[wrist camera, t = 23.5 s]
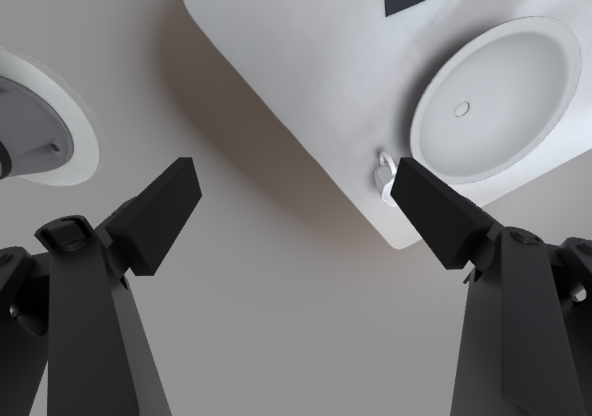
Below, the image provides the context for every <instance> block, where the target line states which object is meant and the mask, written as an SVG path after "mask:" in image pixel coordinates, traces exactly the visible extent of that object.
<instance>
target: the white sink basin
mask: <svg viewBox="0 0 592 416" xmlns="http://www.w3.org/2000/svg"><path fill="white" fill-rule="evenodd" d="M581 67H582V54H581V48H580V45H579V42H578V39H577V38H576V36H575V34H574V33H573V31H572V30H571V29H570V28H569V27H568V26H566V25H565V24H564V23H562V22H560V21H558V20H555V19H552V18H548V17H541V16H531V17H523V18H518V19H514V20H511V21H508V22H505V23H502V24H500V25H498V26H495V27H493V28H491V29H489V30H487V31H486V32H484V33H482V34H480V35H479V36H477V37H476V38H474V39H473V40H471V41H470V42H469V43H467V44H466V45H465V46H463V47H462V48H461V49H460V50H459V51H458V52H456V53H455V54H454V55H453V56H452V57H451V58H450V59H449V60H448V61H447V62H446V63H445V64H444V65H443V67H442V68H441V69H440V70H439V71H438V73H437V74H436V75H435V76H434V78H433V79H432V80H431V82H430V83H429V85H428V86H427V88H426V90H425V92H424V93H423V95H422V97H421V99H420V101H419V103H418V105H417V108H416V110H415V113H414V116H413V120H412V124H411V129H410V149H411V154H412V157H413V158H414V159H415V160H417V161H418V162H419V163H420V164H422V165H423V166H424V167H425V168H427V169H428V170H429V171H431V172H432V173H433V174H434V175H436V176H437V177H438V178H439V179H441V180H442V181H443V182H444V183H446V184H467V183H473V182H477V181H480V180H483V179H486V178H489V177H491V176H494V175H496V174H498V173H500V172H502V171H504V170H506V169H507V168H509V167H511V166H512V165H514V164H515V163H517V162H518V161H520V160H521V159H522V158H524V157H525V156H526V155H528V154H529V153H530V152H531V151H532V150H534V149H535V148H536V147H537V146H538V145H539V144H540V143H541V142H542V141H543V140H544V139H545V138H546V137H547V136H548V134H549V133H550V132H551V131H552V130H553V129H554V127H555V126H556V125H557V123H558V122H559V121H560V119H561V118H562V116H563V115H564V113H565V111H566V110H567V108H568V106H569V104H570V102H571V100H572V98H573V96H574V94H575V91H576V89H577V85H578V82H579V79H580V74H581ZM463 102H467V103H468V104H469V109H468V111H467V112H466V114H464V115H463V116H456V114H455V111H456V109H457V107H458V106H459V105H460V104H461V103H463Z"/></svg>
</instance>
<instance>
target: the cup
mask: <svg viewBox="0 0 592 416" xmlns="http://www.w3.org/2000/svg"><path fill="white" fill-rule="evenodd" d="M384 157H385V159H386V160H387V162H388V164H384ZM379 161H380V166H379V167H378V168H377V169H375V175H374V177H375V178H376V185H377V188H378V190H379V193H380V196H381V199H382V200H383V201H384V202H385V203H386V204H387V205H389V206H390V207H392V206H398V205H397V204H396V202H395V201H394V200H393V198H392V197H391V196H390V192H391V188H392V185H393V182H394V179H395V175H396V172H397V169H398V167H396V166H395V164H394V162H393V160H392V158H391V157H390V156H389V154H388V153H387V152H386V151H383V152H381V153H380V155H379Z"/></svg>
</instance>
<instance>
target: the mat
mask: <svg viewBox="0 0 592 416" xmlns="http://www.w3.org/2000/svg"><path fill="white" fill-rule="evenodd" d="M422 1H425V0H385V11H386V17H387V16H389V15H392V14H394V13H396V12H399V11H401V10H403V9H406V8H408V7H410V6H413V5H415V4H418V3H420V2H422Z"/></svg>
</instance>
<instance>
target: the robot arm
mask: <svg viewBox="0 0 592 416" xmlns="http://www.w3.org/2000/svg"><path fill="white" fill-rule="evenodd" d="M73 153H74V143H73V139H72V136H71V133H70V131H69V129H68V127H67V125H66V124H65V122H64V121H63V119H62V118H61V117H60V115H59V114H58V113H57V112H56V111H55V110H54V109H53V107H52V106H51V105H49V104H48V103H47V102H46V101H45V100H44V99H43V98H41V97H40V96H39V95H38V94H36V93H35V92H33V91H32V90H30V89H29V88H27V87H25V86H24V85H22V84H20V83H18V82H16V81H14V80H11V79H9V78H6V77H3V76H0V180H1V179H3V178H6V177H11V176H19V175H26V174H34V173H42V172H48V171H51V170H55V169H57V168H59V167H61V166H63V165H65V164H67V163H68V162H69V161H70V160H71V158H72V156H73ZM390 196H391V197H392V198H393V200H394V201H395V202H396V204H397V205H398V206H399V207H400V209H401V210H402V211H403V213H404V214H405V215H406V217H407V218H408V219H409V221H410V222H411V223H412V225H413V226H414V227H415V229H416V230H417V231H418V233H419V234H420V235H421V237H422V238H423V239H424V240H425V242H426V243H427V244H428V246H429V247H430V248H431V250H432V251H433V253H434V254H435V255H436V257H437V258H438V259H439V260H440V262H441V263H442V264H443V266H444V267H445V268H446V269H447V270H448V269H449V270H450V269H463V268H464V266H465V265H466V264H467V262H468V261H469V260H470V261H471V262H472V263H473V264H474V265H475V267H474V268H473V269H472V271H471V272H470V273H469V275H468V276H467V278H466V279H465V280H464V282H463V283H464V284H466V283H467V282H468V281H469V288H468V296H467V302H466V309H465V316H464V323H463V330H462V337H461V344H460V351H459V358H458V365H457V372H456V378H455V386H454V392H453V399H452V406H451V413H450V416H592V241H591V240H585V239H582V238H576V237H571V238H567V239H566V240H565V241H564V242H563V243H562V244H561V245H560V246H556V245H551V244H545V243H544V242H543V240H542V239H540V238H539V237H538V236H536V235H534V234H533V233H531V232H529V231H526V230H524V229H520V228H516V227H508V226H507V227H504V226H503V225H502V224H500V223H499V222H498V221H496V220H495V219H494V218H493V217H491V216H490V215H489V214H487V213H486V212H485V211H483V210H482V209H481V208H480V207H478V206H476V204H474V203H473V202H472V201H471V200H469V199H468V198H466V197H464V196H462V195H460V194H458V193H457V192H456V191H455V190H453V189H452V188H451V187H449V186H448V185H447V184H446V183H444V182H443V181H442V180H441V179H439V178H438V177H437V176H436V175H434V174H433V173H432V172H431V171H429V170H428V169H427V168H425V167H424V166H423V165H422V164H420V163H419V162H418V161H417V160H415V159H414V158H413V157H401V159H400V162H399V166H398V169H397V172H396V175H395V179H394V182H393V185H392V188H391V192H390ZM201 197H202V193H201V190H200V186H199V182H198V179H197V175H196V171H195V168H194V164H193V161H192V158H191V157H188V158H187V157H179V158H178V159H177V160H176V161H175V162H174V163H173V164H171V165H170V166H169V167H168V168H167V169H166V170H165V171H164V172H163V173H162V174H161V175H160V176H159V177H157V178H156V180H154V181H153V182H152V183H151V184H150V185H149V186H148V187H147V188H146V189H145V190H144V191H142V192H141V193H140V194H139V195H138V196H137V197H134V198H132V199H130V200H128V201H126V202H124V203H123V204H122V205H121V206H120V207H119V208H118V209H117V210H116V211H114V212H113V213H112V214H111V216H109V217H108V218H106V219H105V220H104V221H103V222H102V223H101V224H100V225H99V226H98V227H96V228H95V229H94V230H93V228H92V227H91V226H90V224H89V223H88V221H87V220H86V218H85V217H84V216H80V215H73V216H66V217H62V218H59V219H56V220H54V221H51V222H49V223H47V224H45V225H44V226H42V227H41V228H40V229H38V230H37V231H36V233H35V234H34V236H35V237H36V238H37V239H38V240H39V241H40V242H41V243H42V245H43V246H44V247H45V248H46V249H47V250H48V251H49V252H46V253H41V254H36V255H32V256H31V255H30V254H29V253H28V252H27V251H26V250H25V249H24V248H23V247H17V246H15V247H9V248H4V249H1V250H0V416H29V414H30V411H31V408H32V405H33V402H34V399H35V396H36V393H37V390H38V387H39V384H40V381H41V378H42V375H43V372H44V370H45V366H46V363H47V361H48V395H47V396H48V397H47V416H172V414H171V411H170V408H169V405H168V402H167V399H166V396H165V393H164V390H163V387H162V384H161V381H160V378H159V375H158V372H157V368H156V365H155V362H154V359H153V356H152V353H151V350H150V347H149V344H148V341H147V338H146V335H145V332H144V329H143V325H142V323H141V319H140V316H139V313H138V310H137V307H136V304H135V301H134V298H133V295H132V292H131V289H130V286H129V283H128V280H127V278H126V277H125V275H124V274H125V272H126V271H127V270H128V268H129V267H130V268H131V270H132V271H133V273H134V274H135V276H154V274H155V272H156V271H157V269H158V267H159V266H160V264H161V262H162V261H163V259H164V257H165V256H166V254H167V253H168V251H169V249H170V248H171V246H172V244H173V243H174V241H175V239H176V238H177V236H178V235H179V233H180V231H181V230H182V228H183V226H184V225H185V223H186V221H187V220H188V218H189V217H190V215H191V213H192V212H193V210H194V208H195V207H196V205H197V203H198V201H199V200H200V198H201ZM584 288H585V291H586V299H584V300H583V301H578V299H577V298H576V296H575V295H576V294H577V293H579V292H580V291H581V290H583V289H584ZM10 308H11V309H12V310H13V312H12V314H11V312H10Z"/></svg>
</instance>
